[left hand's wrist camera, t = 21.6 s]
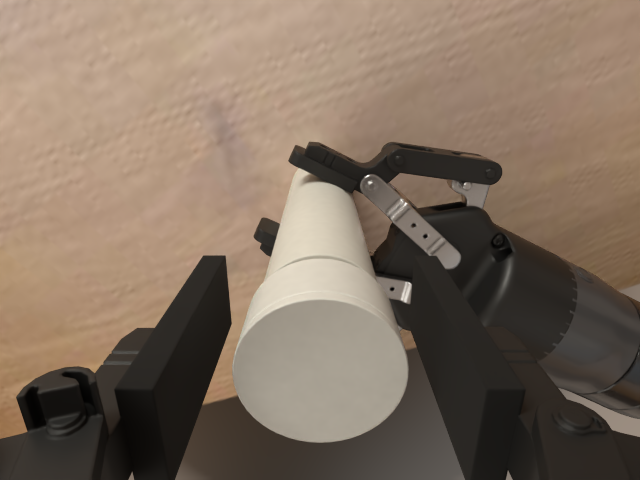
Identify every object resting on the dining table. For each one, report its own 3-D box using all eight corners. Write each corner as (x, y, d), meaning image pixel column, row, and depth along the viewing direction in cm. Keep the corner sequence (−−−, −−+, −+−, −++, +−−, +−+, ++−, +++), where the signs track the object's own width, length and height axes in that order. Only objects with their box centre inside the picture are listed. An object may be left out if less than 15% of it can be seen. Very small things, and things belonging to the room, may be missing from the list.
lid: (388, 383, 13) (402, 443, 11) (251, 382, 13) (238, 442, 11) (398, 257, 12) (416, 299, 9) (243, 256, 12) (225, 298, 9)
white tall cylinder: (348, 213, 29) (390, 409, 12) (293, 214, 29) (253, 411, 12) (349, 157, 28) (397, 285, 10) (290, 158, 28) (240, 289, 10)
